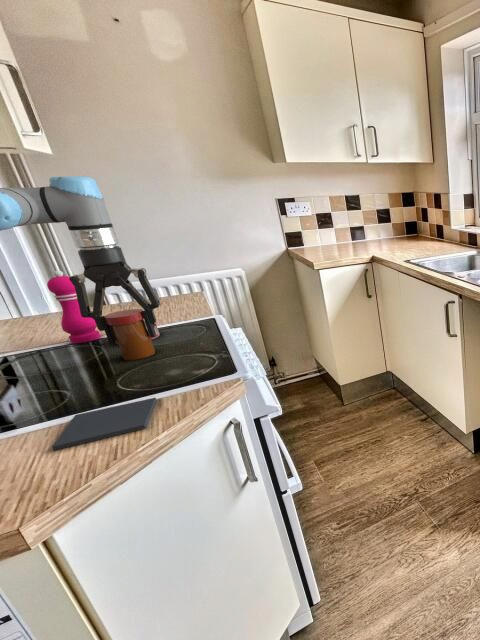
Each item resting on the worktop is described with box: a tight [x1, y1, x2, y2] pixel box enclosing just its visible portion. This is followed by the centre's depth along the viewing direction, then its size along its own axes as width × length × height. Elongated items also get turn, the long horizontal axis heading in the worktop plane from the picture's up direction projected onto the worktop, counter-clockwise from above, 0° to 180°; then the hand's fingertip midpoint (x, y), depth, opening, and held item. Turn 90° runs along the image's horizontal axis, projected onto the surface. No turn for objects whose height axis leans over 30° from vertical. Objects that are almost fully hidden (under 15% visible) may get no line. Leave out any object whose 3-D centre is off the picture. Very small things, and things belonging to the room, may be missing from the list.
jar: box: [110, 319, 156, 361], centre depth 106 cm, size 6×6×11 cm
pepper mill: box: [46, 270, 102, 344], centre depth 117 cm, size 7×7×20 cm
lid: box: [103, 308, 144, 325], centre depth 104 cm, size 7×7×2 cm
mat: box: [51, 397, 158, 451], centre depth 77 cm, size 12×12×1 cm
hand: (133, 338), depth 106 cm, fingers closed on lid, 7 cm apart
